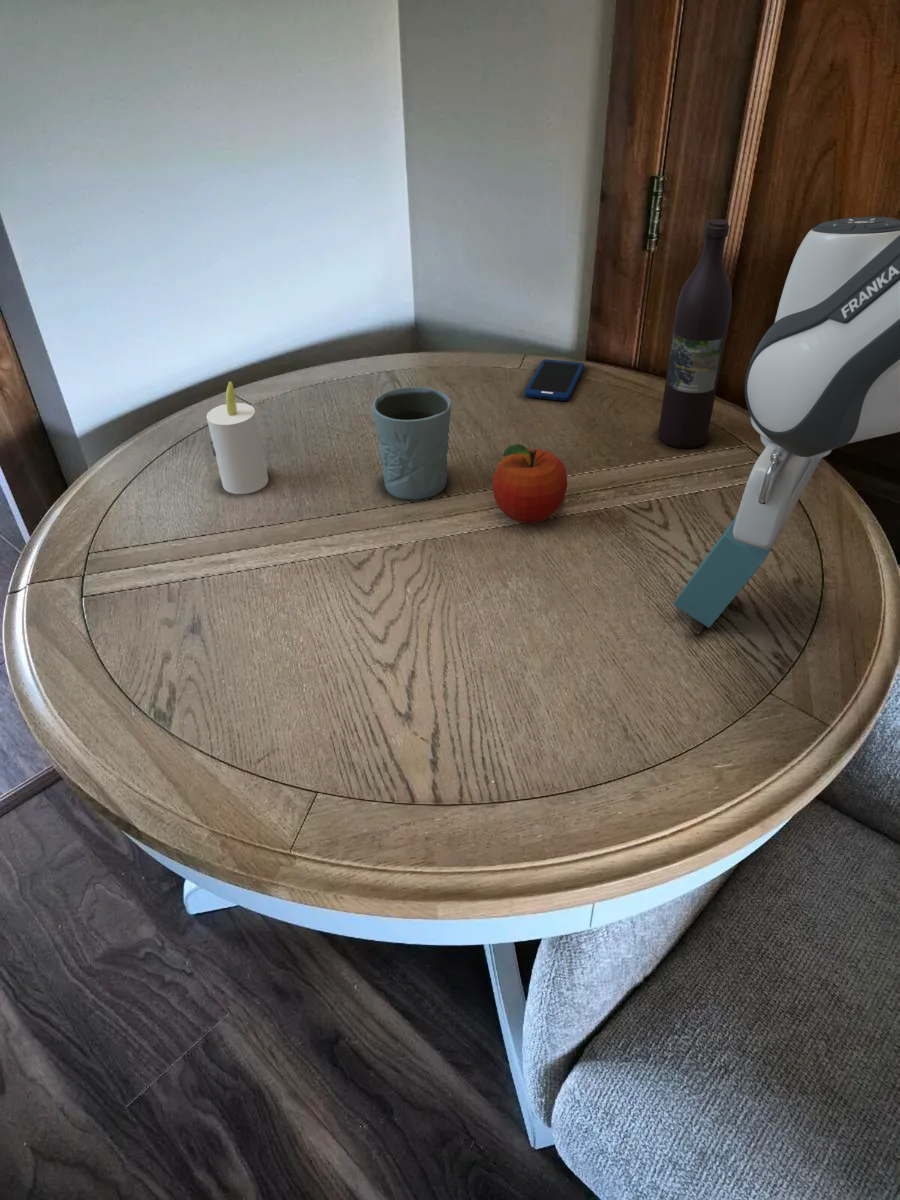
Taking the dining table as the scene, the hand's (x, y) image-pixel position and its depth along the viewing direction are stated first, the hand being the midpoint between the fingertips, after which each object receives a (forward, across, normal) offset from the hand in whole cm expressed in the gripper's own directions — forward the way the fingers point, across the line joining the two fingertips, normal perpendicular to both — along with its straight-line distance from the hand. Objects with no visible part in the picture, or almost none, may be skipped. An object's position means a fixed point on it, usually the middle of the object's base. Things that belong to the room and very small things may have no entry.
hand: (768, 535), depth 82 cm
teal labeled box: (+6, 0, +1) cm, 6 cm away
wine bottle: (+12, +36, +20) cm, 43 cm away
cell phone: (+13, +44, +45) cm, 64 cm away
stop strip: (+12, 0, +4) cm, 12 cm away
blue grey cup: (+13, +6, +47) cm, 49 cm away
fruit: (+12, +7, +30) cm, 33 cm away
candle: (+13, -6, +68) cm, 70 cm away
